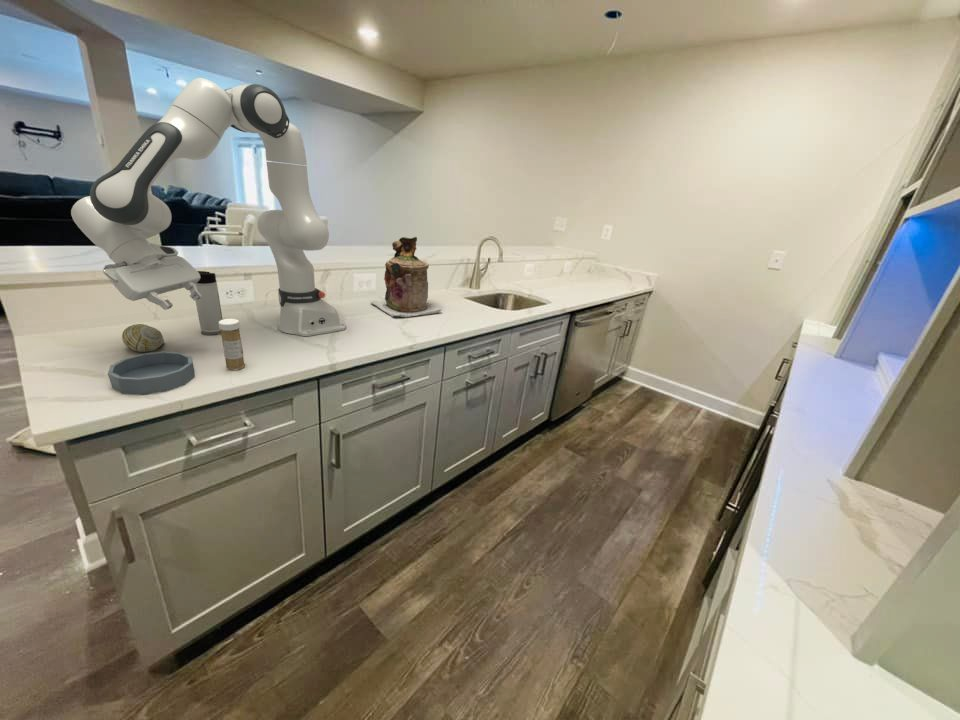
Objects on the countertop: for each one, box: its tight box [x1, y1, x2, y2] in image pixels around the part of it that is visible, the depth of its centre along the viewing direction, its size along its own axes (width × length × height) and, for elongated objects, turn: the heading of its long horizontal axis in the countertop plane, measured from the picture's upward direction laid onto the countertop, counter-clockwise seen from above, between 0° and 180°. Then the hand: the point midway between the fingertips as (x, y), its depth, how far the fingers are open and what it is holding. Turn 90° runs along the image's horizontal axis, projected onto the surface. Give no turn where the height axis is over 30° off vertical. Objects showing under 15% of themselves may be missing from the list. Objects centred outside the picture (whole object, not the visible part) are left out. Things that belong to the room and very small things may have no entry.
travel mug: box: [194, 270, 223, 336], centre depth 121 cm, size 6×7×20 cm
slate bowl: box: [107, 351, 196, 396], centre depth 94 cm, size 16×16×4 cm
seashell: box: [121, 323, 165, 353], centre depth 108 cm, size 10×10×10 cm
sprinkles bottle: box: [219, 318, 246, 371], centre depth 102 cm, size 5×5×13 cm
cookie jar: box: [370, 236, 443, 318], centre depth 166 cm, size 25×25×32 cm
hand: (184, 303), depth 99 cm, fingers open, 8 cm apart
